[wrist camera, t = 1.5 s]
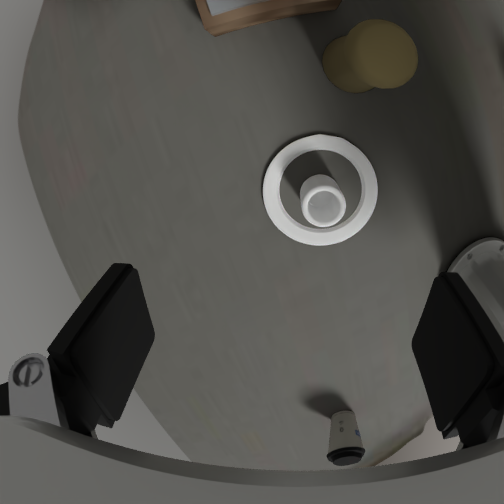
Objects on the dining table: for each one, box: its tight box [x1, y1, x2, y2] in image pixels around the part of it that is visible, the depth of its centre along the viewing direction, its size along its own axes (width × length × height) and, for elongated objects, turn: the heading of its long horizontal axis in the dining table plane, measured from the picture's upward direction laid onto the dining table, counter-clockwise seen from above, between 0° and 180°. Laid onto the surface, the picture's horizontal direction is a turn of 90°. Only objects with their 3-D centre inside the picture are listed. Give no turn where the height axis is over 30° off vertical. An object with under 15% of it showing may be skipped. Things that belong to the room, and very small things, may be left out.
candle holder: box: [263, 134, 378, 245], centre depth 29 cm, size 12×12×4 cm
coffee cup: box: [327, 411, 365, 466], centre depth 46 cm, size 7×7×10 cm
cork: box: [322, 19, 418, 93], centre depth 19 cm, size 6×6×11 cm
